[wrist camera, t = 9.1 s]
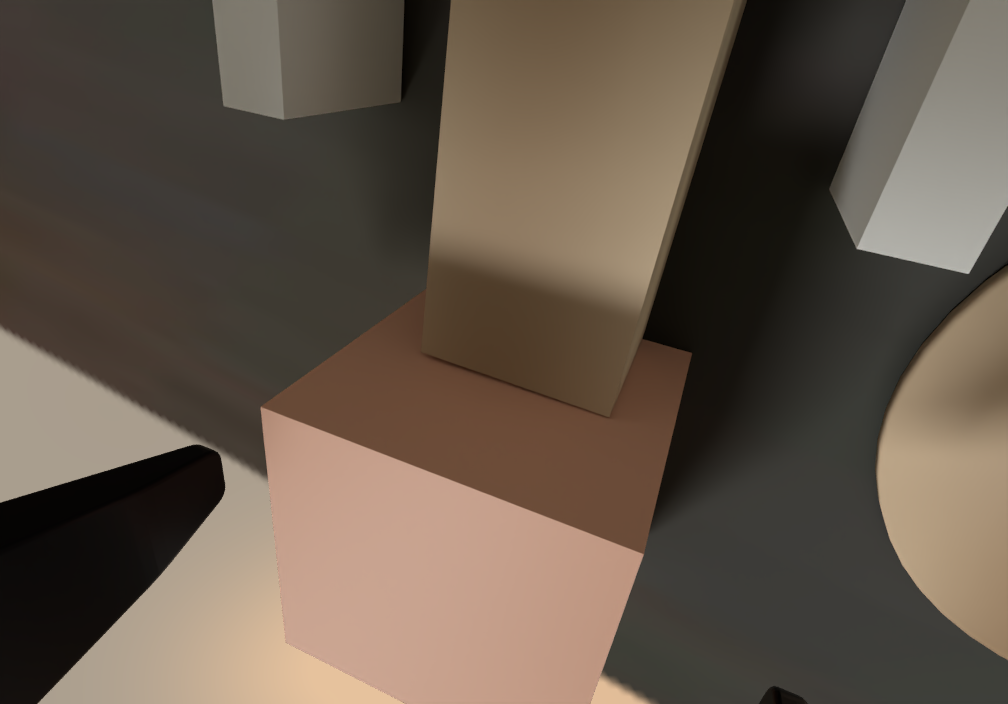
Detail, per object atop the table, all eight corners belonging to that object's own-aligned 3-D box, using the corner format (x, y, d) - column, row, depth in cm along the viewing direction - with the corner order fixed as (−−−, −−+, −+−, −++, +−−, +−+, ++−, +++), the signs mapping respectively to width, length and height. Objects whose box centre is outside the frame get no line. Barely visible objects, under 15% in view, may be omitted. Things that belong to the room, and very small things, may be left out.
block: (692, 351, 10) (643, 554, 6) (627, 546, 13) (561, 782, 9) (439, 279, 12) (260, 407, 8) (425, 469, 14) (285, 642, 10)
